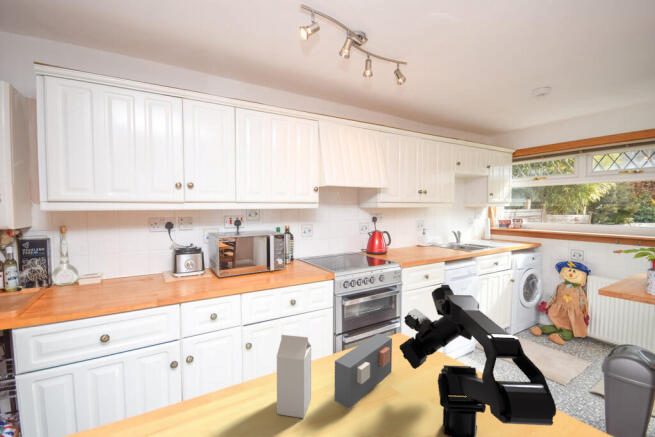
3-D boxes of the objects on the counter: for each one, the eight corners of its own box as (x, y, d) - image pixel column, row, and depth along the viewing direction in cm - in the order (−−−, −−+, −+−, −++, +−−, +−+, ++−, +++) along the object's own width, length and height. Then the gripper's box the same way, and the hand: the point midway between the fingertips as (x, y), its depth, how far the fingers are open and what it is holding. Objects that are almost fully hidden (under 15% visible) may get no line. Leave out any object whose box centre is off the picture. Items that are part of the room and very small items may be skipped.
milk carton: (303, 419, 72) (304, 343, 71) (276, 414, 73) (276, 340, 72) (311, 399, 79) (311, 331, 78) (286, 396, 80) (286, 328, 79)
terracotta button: (389, 361, 88) (390, 348, 88) (383, 366, 85) (383, 353, 85) (384, 359, 89) (384, 346, 89) (377, 364, 86) (377, 351, 86)
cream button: (369, 377, 80) (370, 363, 79) (361, 384, 77) (361, 369, 76) (364, 374, 81) (364, 361, 80) (355, 381, 78) (356, 367, 77)
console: (391, 372, 92) (392, 338, 91) (349, 409, 75) (349, 367, 74) (377, 366, 95) (378, 333, 94) (334, 400, 78) (334, 360, 78)
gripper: (437, 295, 85) (402, 322, 93) (407, 312, 71) (369, 342, 79) (465, 329, 80) (425, 354, 88) (438, 355, 66) (394, 382, 74)
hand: (404, 356), depth 83 cm, fingers closed
